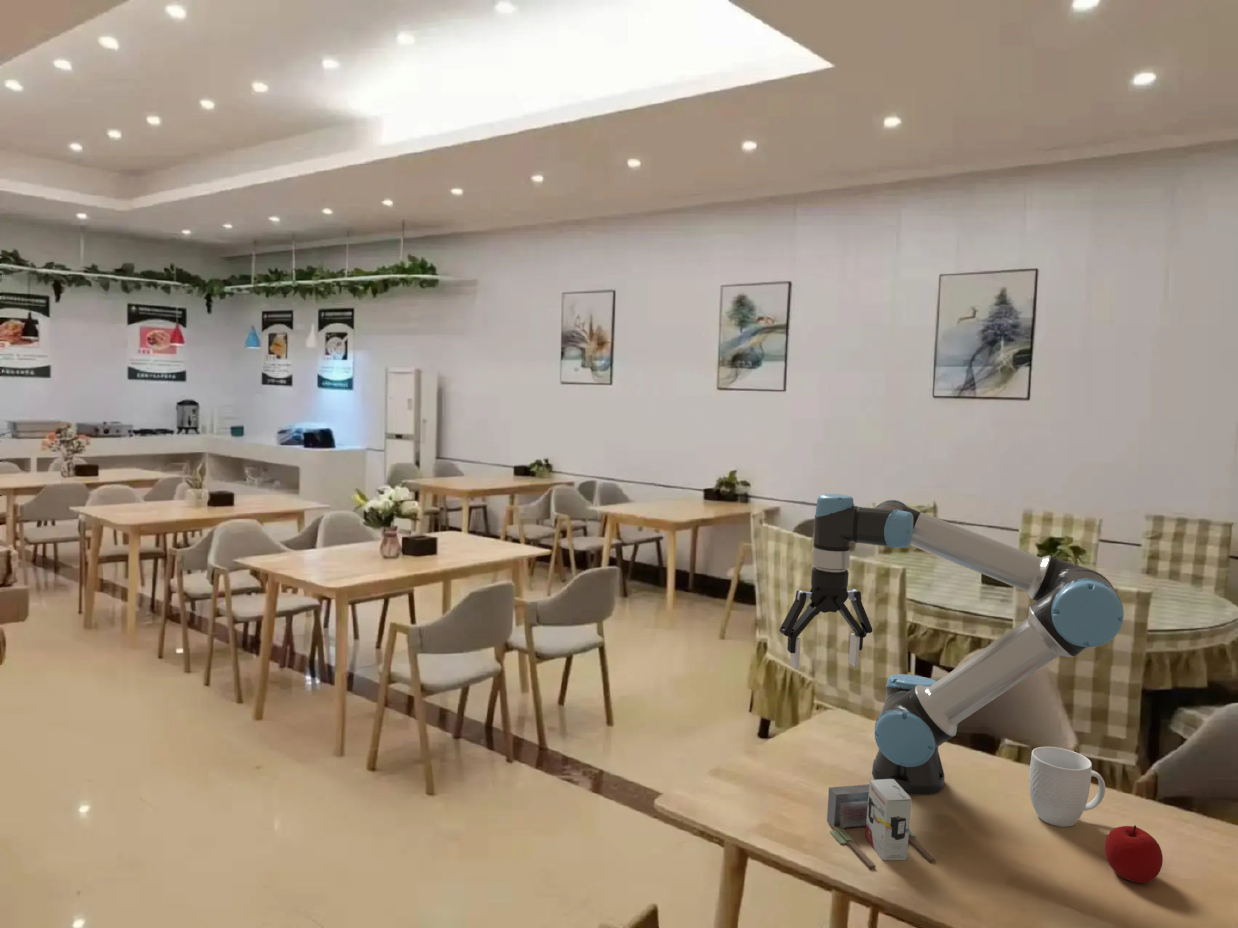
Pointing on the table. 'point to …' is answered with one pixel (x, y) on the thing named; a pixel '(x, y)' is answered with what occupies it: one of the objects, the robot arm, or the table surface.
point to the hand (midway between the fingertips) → (824, 666)
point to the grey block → (848, 806)
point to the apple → (1133, 854)
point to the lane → (846, 839)
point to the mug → (1061, 785)
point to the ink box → (888, 819)
